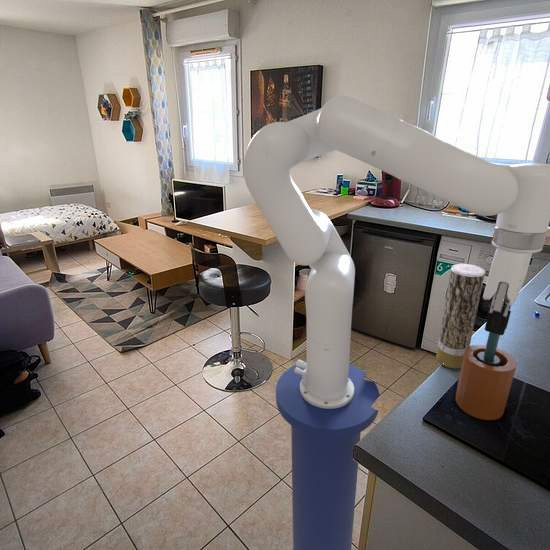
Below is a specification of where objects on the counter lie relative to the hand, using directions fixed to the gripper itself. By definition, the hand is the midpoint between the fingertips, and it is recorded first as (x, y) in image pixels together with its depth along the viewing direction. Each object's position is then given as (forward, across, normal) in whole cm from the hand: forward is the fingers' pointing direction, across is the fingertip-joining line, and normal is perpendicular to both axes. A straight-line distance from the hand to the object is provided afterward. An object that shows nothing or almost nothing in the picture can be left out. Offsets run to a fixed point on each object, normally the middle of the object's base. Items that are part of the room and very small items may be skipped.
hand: (495, 329), depth 70 cm
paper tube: (+19, -12, -9) cm, 24 cm away
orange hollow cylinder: (+18, 0, 0) cm, 18 cm away
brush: (+12, 0, 0) cm, 12 cm away
